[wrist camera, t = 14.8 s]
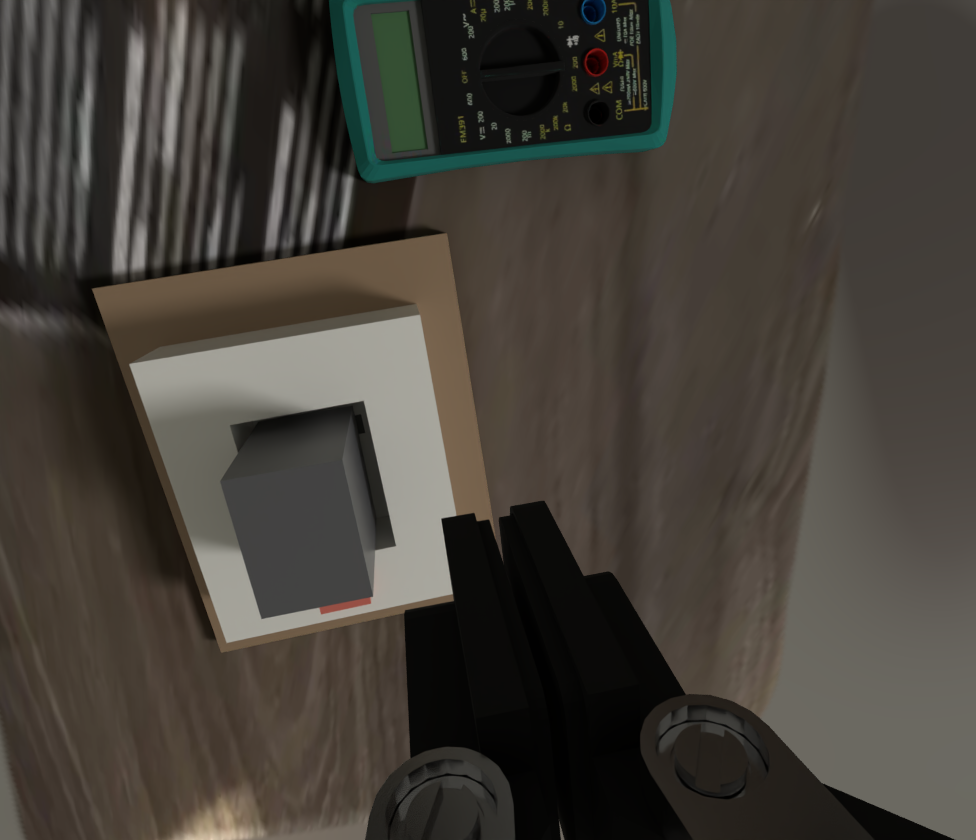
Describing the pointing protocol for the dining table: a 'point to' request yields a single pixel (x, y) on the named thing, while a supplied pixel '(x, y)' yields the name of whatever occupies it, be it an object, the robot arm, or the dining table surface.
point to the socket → (308, 407)
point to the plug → (303, 512)
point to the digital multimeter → (500, 80)
